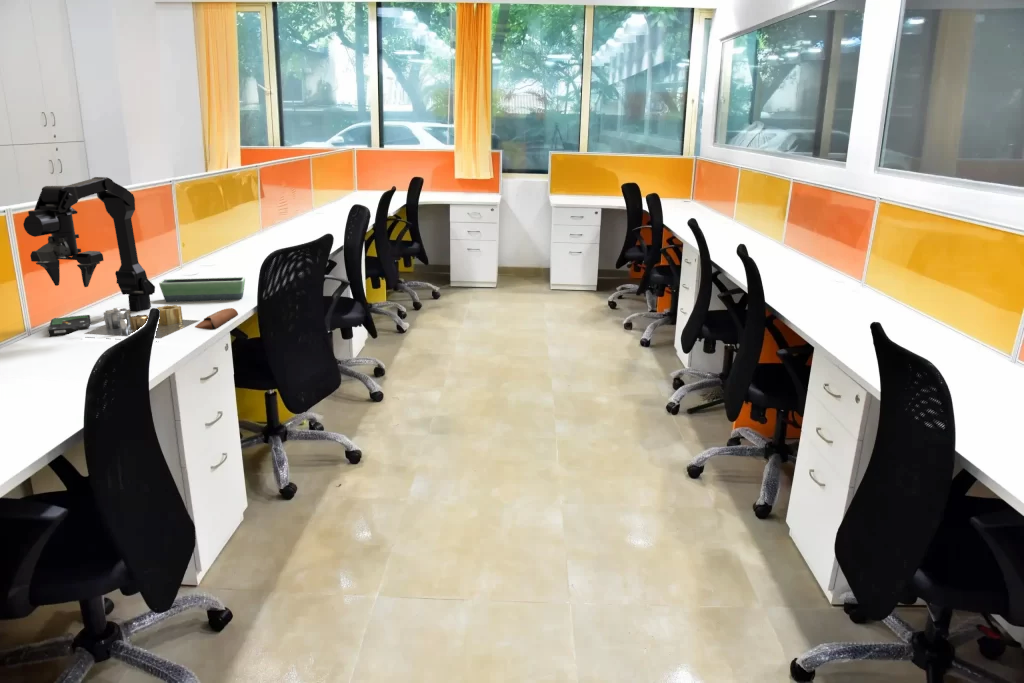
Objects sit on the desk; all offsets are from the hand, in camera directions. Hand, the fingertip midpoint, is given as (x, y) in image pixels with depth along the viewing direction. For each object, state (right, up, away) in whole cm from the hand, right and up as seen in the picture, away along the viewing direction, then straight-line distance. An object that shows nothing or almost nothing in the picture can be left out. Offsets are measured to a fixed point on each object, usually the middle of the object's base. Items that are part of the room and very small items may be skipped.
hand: (71, 286), depth 207 cm
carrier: (+16, -13, +10) cm, 23 cm away
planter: (+17, -1, +50) cm, 53 cm away
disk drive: (-7, -13, +11) cm, 18 cm away
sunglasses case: (+34, -11, +17) cm, 40 cm away
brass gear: (+21, -10, +16) cm, 28 cm away
